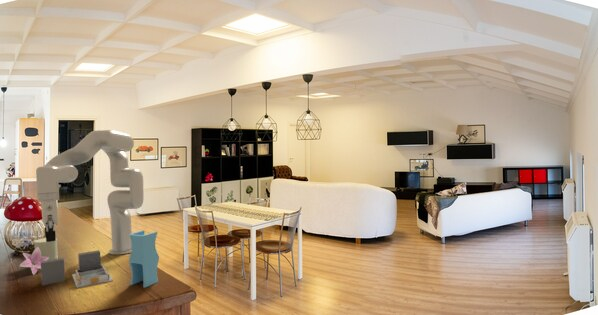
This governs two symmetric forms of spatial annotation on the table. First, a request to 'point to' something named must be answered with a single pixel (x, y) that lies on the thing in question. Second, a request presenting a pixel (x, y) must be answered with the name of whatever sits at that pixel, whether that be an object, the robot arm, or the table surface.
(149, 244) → the blue tall curved block
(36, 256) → the lily
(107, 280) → the rack
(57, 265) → the panel
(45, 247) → the can
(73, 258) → the table surface
